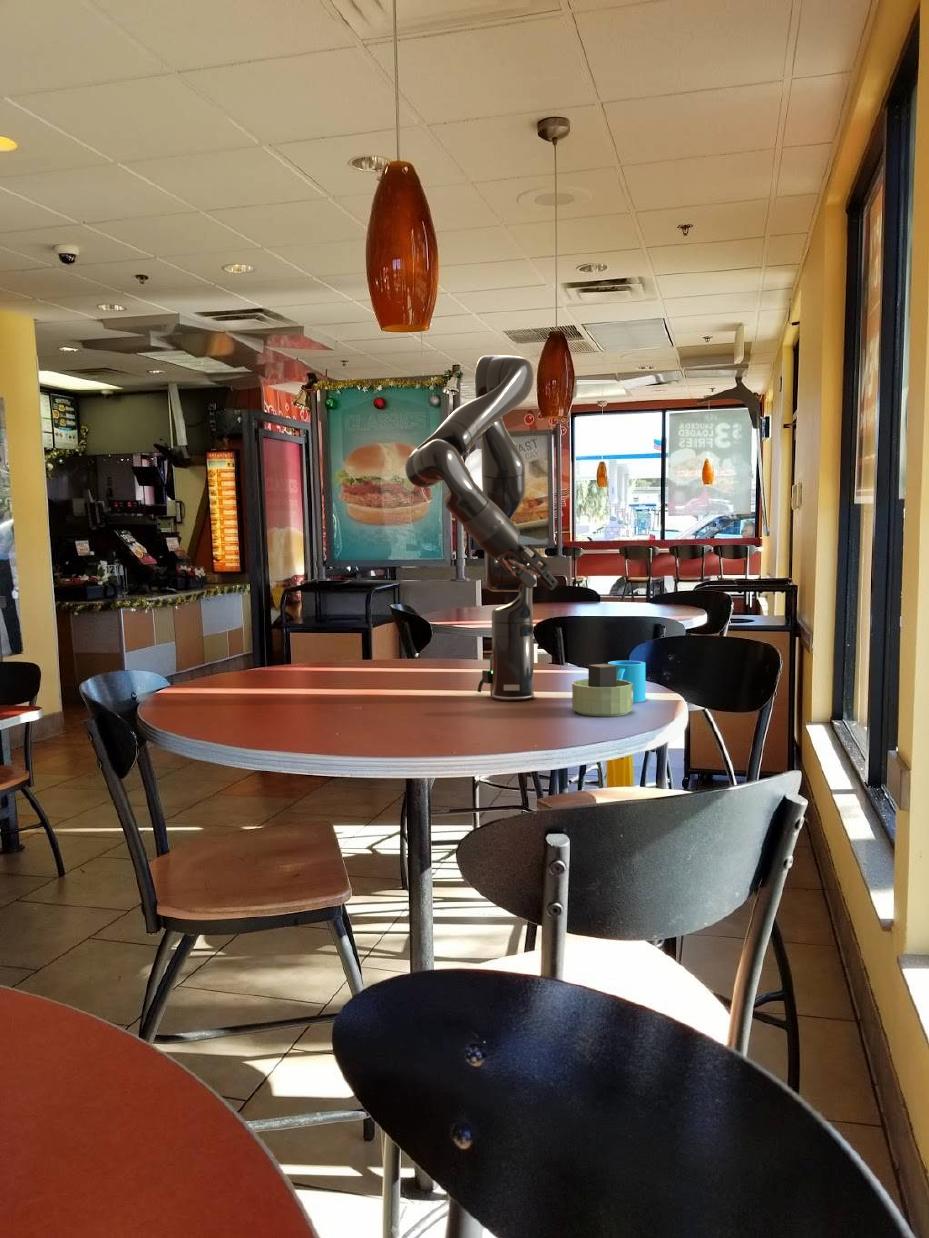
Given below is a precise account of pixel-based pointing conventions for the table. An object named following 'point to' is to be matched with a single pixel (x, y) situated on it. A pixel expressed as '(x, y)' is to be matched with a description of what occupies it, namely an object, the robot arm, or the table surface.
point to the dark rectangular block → (602, 675)
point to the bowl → (602, 698)
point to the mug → (632, 676)
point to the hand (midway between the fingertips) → (543, 586)
